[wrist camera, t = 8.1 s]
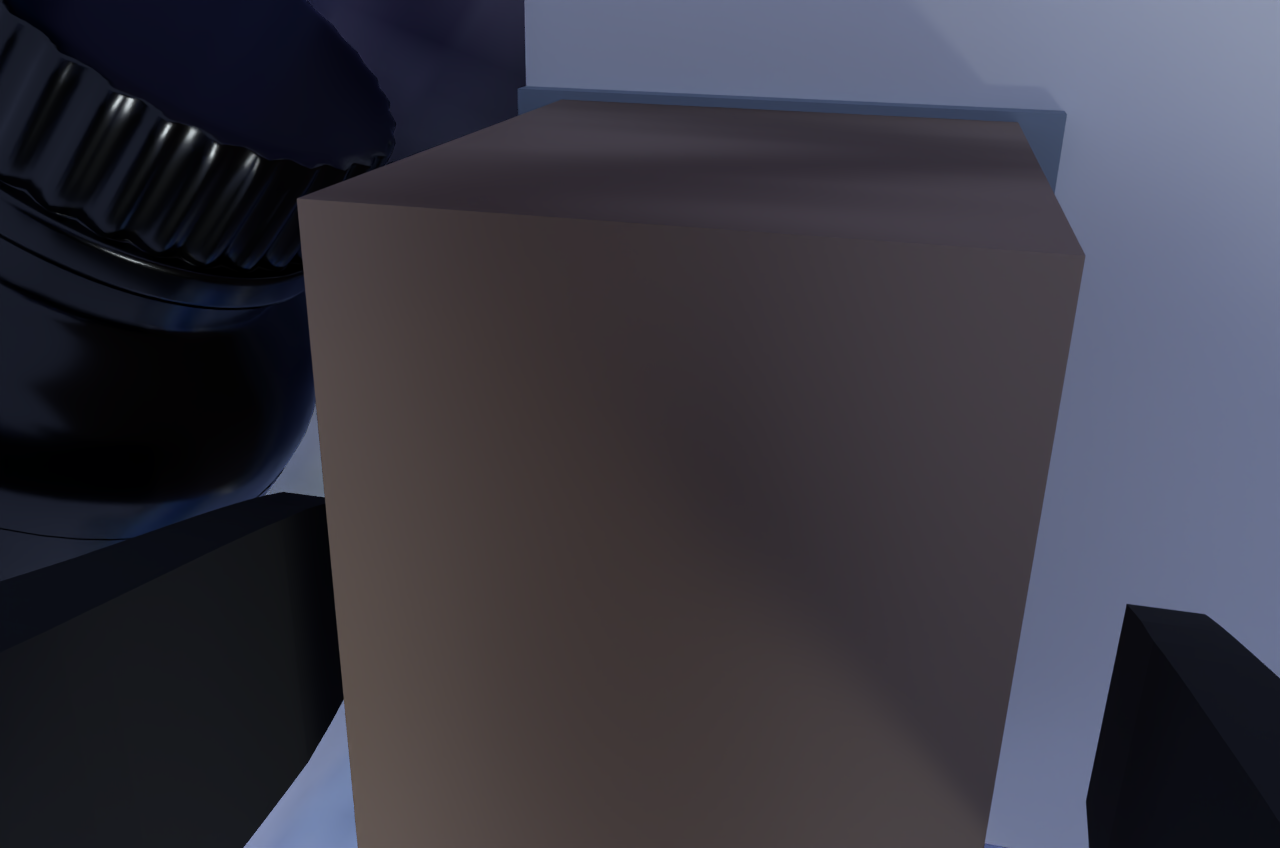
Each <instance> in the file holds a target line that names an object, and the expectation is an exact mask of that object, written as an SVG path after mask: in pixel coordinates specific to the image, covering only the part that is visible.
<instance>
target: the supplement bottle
mask: <svg viewBox="0 0 1280 848" xmlns="http://www.w3.org/2000/svg"><path fill="white" fill-rule="evenodd" d="M389 108H390V102H389V100H388V99H387V97H386V96H385V95H384V93H383V92H382V91H381V89H380V88H379V83H378V80H377V78H376V77H375V75H374V74H373V73H372V72H371V71H370V70H369V69H368V68H367V67H366V65H365V64H364V63H363V61H362V59H361V58H360V56H359V54H358V52H357V51H356V50H355V49H354V48H353V47H352V46H351V45H350V44H349V43H347V42H346V41H345V40H344V39H343V38H342V37H341V35H340V34H339V33H338V31H337V30H336V29H335V27H334V26H333V25H332V24H331V23H330V22H329V21H327V20H326V19H325V18H324V17H323V16H322V15H320V14H319V13H318V12H317V11H316V10H315V9H314V8H313V7H312V6H311V5H310V4H309V3H308V2H307V0H0V581H3V580H6V579H9V578H13V577H16V576H19V575H22V574H25V573H28V572H31V571H35V570H38V569H41V568H44V567H47V566H50V565H54V564H57V563H60V562H63V561H66V560H69V559H72V558H75V557H78V556H81V555H84V554H87V553H90V552H93V551H96V550H99V549H102V548H104V547H107V546H110V545H113V544H116V543H119V542H122V541H125V540H128V539H130V538H133V537H136V536H139V535H142V534H145V533H148V532H151V531H154V530H156V529H159V528H162V527H165V526H168V525H171V524H174V523H177V522H180V521H183V520H185V519H188V518H191V517H194V516H197V515H200V514H203V513H206V512H210V511H213V510H216V509H219V508H222V507H225V506H228V505H232V504H235V503H239V502H242V501H246V500H249V499H253V498H257V497H261V496H265V494H266V493H267V492H268V490H269V489H270V488H271V486H272V485H273V484H274V482H275V481H276V479H277V478H278V477H279V475H280V474H281V473H282V471H283V469H284V467H285V466H286V464H287V463H288V462H289V460H290V459H291V457H292V455H293V454H294V452H295V451H296V449H297V447H298V446H299V444H300V442H301V440H302V439H303V437H304V435H305V433H306V431H307V428H308V425H309V422H310V420H311V417H312V414H313V411H314V407H315V402H316V398H315V387H314V377H313V366H312V356H311V345H310V334H309V324H308V313H307V303H306V292H305V281H304V271H303V260H302V250H301V239H300V228H299V218H298V207H297V198H300V197H302V196H305V195H308V194H310V193H313V192H316V191H318V190H321V189H324V188H326V187H329V186H332V185H334V184H337V183H340V182H342V181H345V180H348V179H350V178H353V177H356V176H358V175H361V174H364V173H366V172H369V171H372V170H374V169H377V168H380V167H383V166H384V165H385V164H386V162H387V161H388V159H389V157H390V155H391V153H392V151H393V148H394V146H395V139H394V136H393V132H394V129H395V126H396V123H395V121H394V119H393V117H392V115H391V113H390V112H389Z"/></svg>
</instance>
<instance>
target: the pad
mask: <svg viewBox="0 0 1280 848" xmlns="http://www.w3.org/2000/svg"><path fill="white" fill-rule="evenodd" d="M559 100H582V101H602V102H622V103H642V104H662V105H682V106H702V107H722V108H742V109H762V110H782V111H802V112H823V113H843V114H863V115H883V116H903V117H923V118H943V119H963V120H983V121H1003V122H1018V123H1019V125H1020V127H1021V129H1022V131H1023V133H1024V135H1025V137H1026V139H1027V141H1028V143H1029V145H1030V147H1031V149H1032V151H1033V153H1034V155H1035V157H1036V159H1037V161H1038V163H1039V165H1040V167H1041V169H1042V171H1043V173H1044V175H1045V176H1046V178H1047V180H1048V182H1049V184H1050V186H1051V188H1052V190H1053V192H1054V194H1055V188H1056V182H1057V175H1058V169H1059V163H1060V156H1061V150H1062V143H1063V137H1064V131H1065V124H1066V118H1067V114H1066V112H1065V111H1059V110H1037V109H1015V108H993V107H972V106H950V105H928V104H906V103H885V102H863V101H841V100H819V99H797V98H776V97H754V96H732V95H710V94H689V93H667V92H645V91H623V90H601V89H580V88H558V87H536V86H525V87H521V88H518V116H519V115H521V114H524V113H527V112H530V111H532V110H535V109H538V108H540V107H543V106H546V105H548V104H551V103H554V102H556V101H559Z"/></svg>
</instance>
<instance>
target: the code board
mask: <svg viewBox="0 0 1280 848" xmlns="http://www.w3.org/2000/svg"><path fill="white" fill-rule="evenodd" d="M524 5H525V59H526V86H536V87H558V88H580V89H601V90H623V91H645V92H667V93H689V94H710V95H732V96H754V97H776V98H797V99H819V100H841V101H863V102H885V103H906V104H928V105H950V106H972V107H993V108H1015V109H1037V110H1059V111H1065V112H1066V114H1067V118H1066V124H1065V131H1064V137H1063V143H1062V150H1061V156H1060V163H1059V169H1058V175H1057V182H1056V188H1055V196H1056V198H1057V200H1058V202H1059V204H1060V206H1061V208H1062V210H1063V212H1064V214H1065V216H1066V218H1067V220H1068V222H1069V224H1070V226H1071V228H1072V230H1073V232H1074V234H1075V236H1076V238H1077V240H1078V242H1079V244H1080V246H1081V248H1082V250H1083V252H1084V254H1085V255H1086V256H1085V262H1084V268H1083V273H1082V279H1081V285H1080V291H1079V297H1078V302H1077V308H1076V314H1075V320H1074V326H1073V332H1072V337H1071V343H1070V349H1069V355H1068V361H1067V367H1066V372H1065V378H1064V384H1063V390H1062V396H1061V401H1060V407H1059V413H1058V419H1057V425H1056V431H1055V436H1054V442H1053V448H1052V454H1051V460H1050V466H1049V471H1048V477H1047V483H1046V489H1045V495H1044V500H1043V506H1042V512H1041V518H1040V524H1039V530H1038V535H1037V541H1036V547H1035V553H1034V559H1033V565H1032V570H1031V576H1030V582H1029V588H1028V594H1027V600H1026V605H1025V611H1024V617H1023V623H1022V629H1021V634H1020V640H1019V646H1018V652H1017V658H1016V664H1015V669H1014V675H1013V681H1012V687H1011V693H1010V699H1009V704H1008V710H1007V716H1006V722H1005V728H1004V733H1003V739H1002V745H1001V751H1000V757H999V763H998V768H997V774H996V780H995V786H994V792H993V798H992V803H991V809H990V815H989V821H988V827H987V832H986V838H985V844H990V845H995V846H1001V847H1007V848H1089V840H1088V826H1087V812H1086V797H1087V793H1088V788H1089V783H1090V778H1091V773H1092V768H1093V764H1094V759H1095V754H1096V749H1097V744H1098V739H1099V735H1100V730H1101V725H1102V720H1103V715H1104V711H1105V706H1106V701H1107V696H1108V691H1109V686H1110V682H1111V677H1112V672H1113V667H1114V662H1115V658H1116V653H1117V648H1118V643H1119V638H1120V633H1121V629H1122V624H1123V619H1124V614H1125V609H1126V604H1132V605H1140V606H1147V607H1155V608H1163V609H1170V610H1178V611H1185V612H1193V613H1200V614H1206V615H1207V616H1209V617H1210V618H1211V619H1212V620H1214V621H1215V622H1216V623H1218V624H1219V625H1220V626H1221V627H1223V628H1224V629H1225V630H1226V631H1227V632H1229V633H1230V634H1231V635H1232V636H1233V637H1234V638H1235V639H1237V640H1238V641H1239V642H1240V643H1241V644H1242V645H1243V646H1245V647H1246V648H1247V649H1248V650H1249V651H1250V652H1251V653H1252V654H1254V655H1255V656H1256V657H1257V658H1258V659H1259V660H1260V661H1261V662H1262V663H1264V664H1265V665H1266V666H1267V667H1268V668H1269V669H1270V670H1271V671H1272V672H1274V673H1275V674H1276V675H1277V676H1278V677H1279V678H1280V0H524Z"/></svg>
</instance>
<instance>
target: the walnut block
mask: <svg viewBox="0 0 1280 848" xmlns="http://www.w3.org/2000/svg"><path fill="white" fill-rule="evenodd" d="M297 207H298V218H299V228H300V239H301V250H302V260H303V271H304V281H305V292H306V303H307V313H308V324H309V334H310V345H311V356H312V366H313V377H314V387H315V398H316V409H317V419H318V430H319V440H320V451H321V462H322V472H323V483H324V493H325V504H326V515H327V525H328V536H329V546H330V557H331V568H332V578H333V589H334V600H335V610H336V621H337V631H338V642H339V653H340V663H341V674H342V684H343V695H344V706H345V716H346V727H347V737H348V748H349V759H350V769H351V780H352V790H353V801H354V812H355V822H356V833H357V843H358V848H984V844H985V838H986V832H987V827H988V821H989V815H990V809H991V803H992V798H993V792H994V786H995V780H996V774H997V768H998V763H999V757H1000V751H1001V745H1002V739H1003V733H1004V728H1005V722H1006V716H1007V710H1008V704H1009V699H1010V693H1011V687H1012V681H1013V675H1014V669H1015V664H1016V658H1017V652H1018V646H1019V640H1020V634H1021V629H1022V623H1023V617H1024V611H1025V605H1026V600H1027V594H1028V588H1029V582H1030V576H1031V570H1032V565H1033V559H1034V553H1035V547H1036V541H1037V535H1038V530H1039V524H1040V518H1041V512H1042V506H1043V500H1044V495H1045V489H1046V483H1047V477H1048V471H1049V466H1050V460H1051V454H1052V448H1053V442H1054V436H1055V431H1056V425H1057V419H1058V413H1059V407H1060V401H1061V396H1062V390H1063V384H1064V378H1065V372H1066V367H1067V361H1068V355H1069V349H1070V343H1071V337H1072V332H1073V326H1074V320H1075V314H1076V308H1077V302H1078V297H1079V291H1080V285H1081V279H1082V273H1083V268H1084V262H1085V256H1086V255H1085V254H1084V252H1083V250H1082V248H1081V246H1080V244H1079V242H1078V240H1077V238H1076V236H1075V234H1074V232H1073V230H1072V228H1071V226H1070V224H1069V222H1068V220H1067V218H1066V216H1065V214H1064V212H1063V210H1062V208H1061V206H1060V204H1059V202H1058V200H1057V198H1056V196H1055V194H1054V192H1053V190H1052V188H1051V186H1050V184H1049V182H1048V180H1047V178H1046V176H1045V175H1044V173H1043V171H1042V169H1041V167H1040V165H1039V163H1038V161H1037V159H1036V157H1035V155H1034V153H1033V151H1032V149H1031V147H1030V145H1029V143H1028V141H1027V139H1026V137H1025V135H1024V133H1023V131H1022V129H1021V127H1020V125H1019V123H1018V122H1003V121H983V120H963V119H943V118H923V117H903V116H883V115H863V114H843V113H823V112H802V111H782V110H762V109H742V108H722V107H702V106H682V105H662V104H642V103H622V102H602V101H582V100H559V101H556V102H554V103H551V104H548V105H546V106H543V107H540V108H538V109H535V110H532V111H530V112H527V113H524V114H521V115H519V116H516V117H513V118H511V119H508V120H505V121H503V122H500V123H497V124H495V125H492V126H489V127H487V128H484V129H481V130H479V131H476V132H473V133H471V134H468V135H465V136H463V137H460V138H457V139H455V140H452V141H449V142H447V143H444V144H441V145H439V146H436V147H433V148H431V149H428V150H425V151H423V152H420V153H417V154H415V155H412V156H409V157H407V158H404V159H401V160H399V161H396V162H393V163H391V164H388V165H385V166H383V167H380V168H377V169H374V170H372V171H369V172H366V173H364V174H361V175H358V176H356V177H353V178H350V179H348V180H345V181H342V182H340V183H337V184H334V185H332V186H329V187H326V188H324V189H321V190H318V191H316V192H313V193H310V194H308V195H305V196H302V197H300V198H297Z"/></svg>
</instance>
